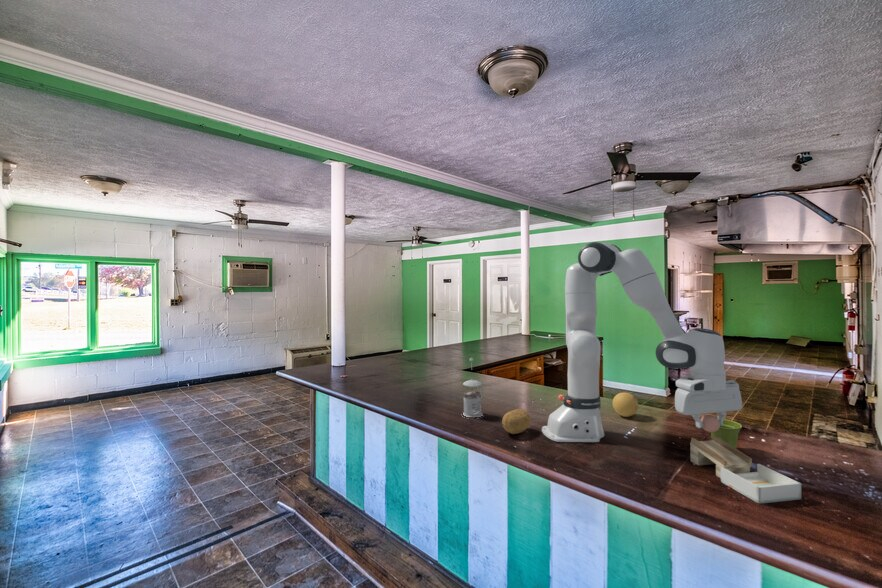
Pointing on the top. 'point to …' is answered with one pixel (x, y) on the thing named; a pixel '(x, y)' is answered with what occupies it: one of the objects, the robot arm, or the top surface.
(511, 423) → the potato
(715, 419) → the rubber ball
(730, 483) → the tray
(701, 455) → the launch ramp
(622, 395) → the stress ball
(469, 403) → the french press
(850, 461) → the top surface
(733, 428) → the plant pot
